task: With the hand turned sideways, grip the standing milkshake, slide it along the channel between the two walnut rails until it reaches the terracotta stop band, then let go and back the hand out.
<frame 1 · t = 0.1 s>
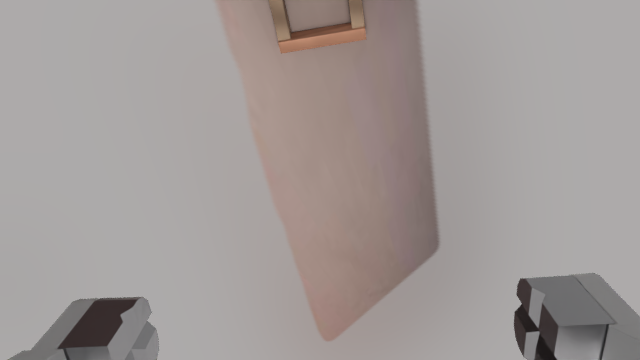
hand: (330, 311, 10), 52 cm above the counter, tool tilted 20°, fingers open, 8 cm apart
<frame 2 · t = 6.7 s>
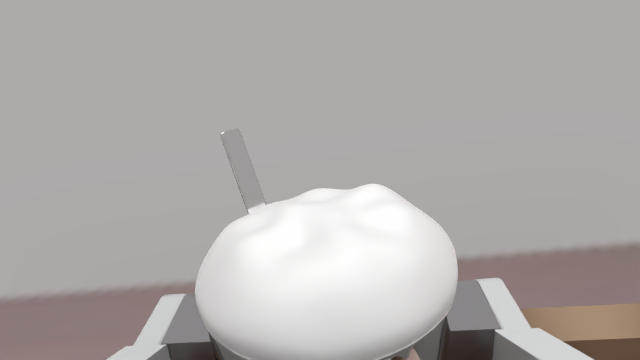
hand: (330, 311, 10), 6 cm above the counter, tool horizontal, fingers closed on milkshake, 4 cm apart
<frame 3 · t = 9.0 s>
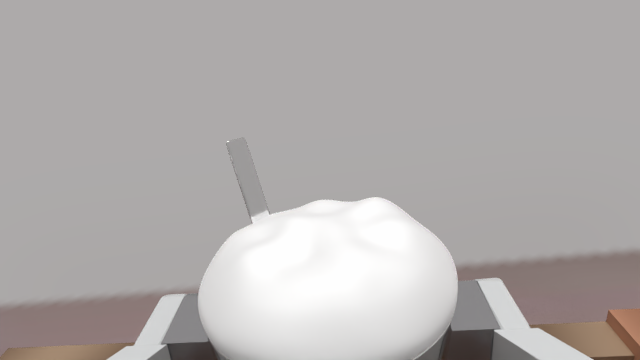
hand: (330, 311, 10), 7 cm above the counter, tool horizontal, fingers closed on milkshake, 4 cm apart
when the fingers open (7 cm above the counter, at t = 11.5 s): milkshake moves 1 cm, on the counter.
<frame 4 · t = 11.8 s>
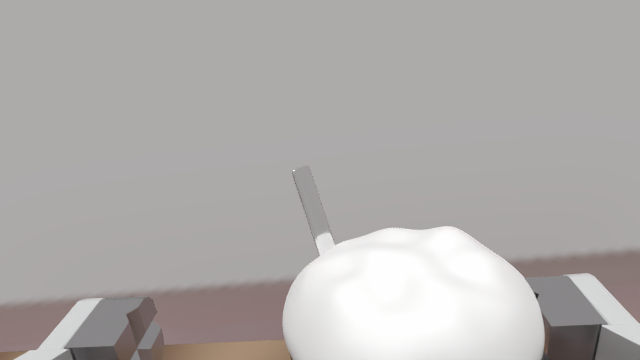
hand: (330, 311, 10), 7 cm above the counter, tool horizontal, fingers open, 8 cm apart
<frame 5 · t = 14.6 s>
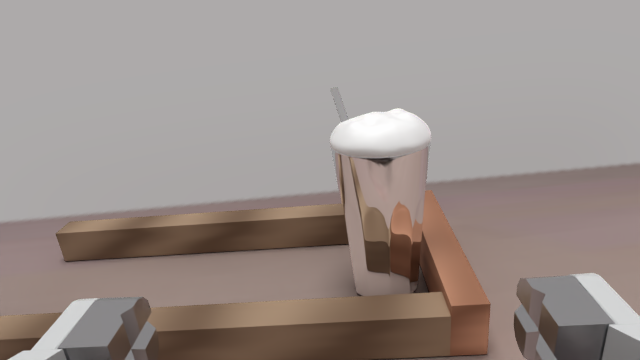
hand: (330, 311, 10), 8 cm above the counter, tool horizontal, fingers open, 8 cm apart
rail guide: (265, 286, 24), on the counter
milkshake: (380, 284, 24), on the counter
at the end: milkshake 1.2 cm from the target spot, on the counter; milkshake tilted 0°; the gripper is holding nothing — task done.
